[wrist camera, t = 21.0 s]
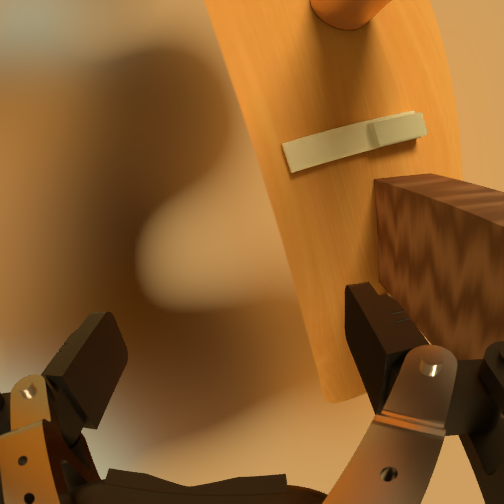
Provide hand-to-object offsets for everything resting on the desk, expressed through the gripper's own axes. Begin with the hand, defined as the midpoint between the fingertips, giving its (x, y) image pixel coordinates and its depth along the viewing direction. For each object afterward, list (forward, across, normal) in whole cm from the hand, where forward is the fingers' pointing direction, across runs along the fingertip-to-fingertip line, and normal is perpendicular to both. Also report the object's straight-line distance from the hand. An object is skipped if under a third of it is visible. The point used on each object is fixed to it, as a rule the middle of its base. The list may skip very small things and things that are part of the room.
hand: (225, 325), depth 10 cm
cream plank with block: (+34, -16, -4) cm, 38 cm away
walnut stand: (+33, -23, +10) cm, 42 cm away
